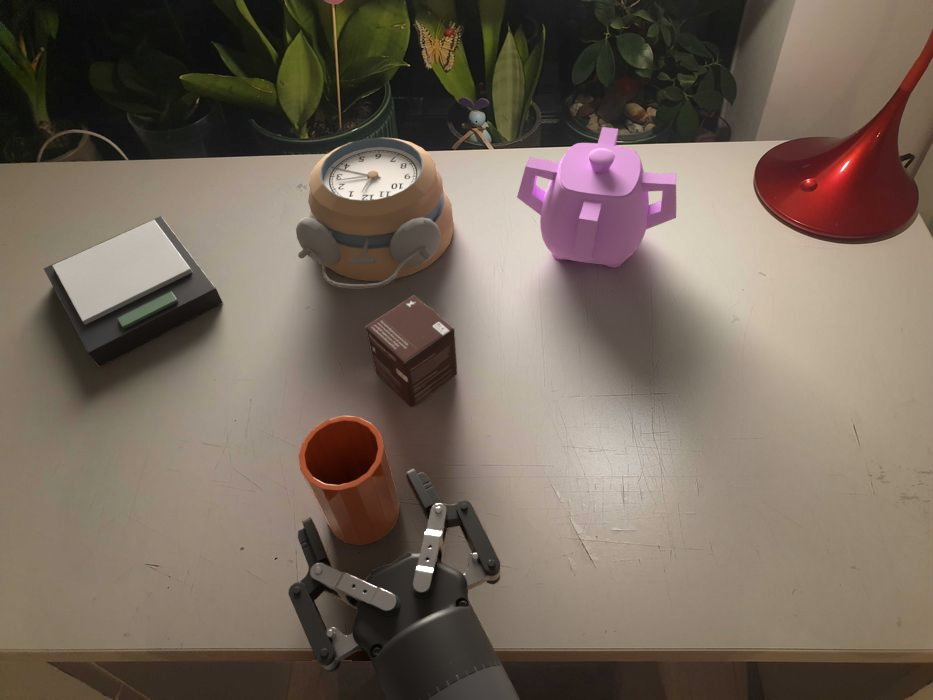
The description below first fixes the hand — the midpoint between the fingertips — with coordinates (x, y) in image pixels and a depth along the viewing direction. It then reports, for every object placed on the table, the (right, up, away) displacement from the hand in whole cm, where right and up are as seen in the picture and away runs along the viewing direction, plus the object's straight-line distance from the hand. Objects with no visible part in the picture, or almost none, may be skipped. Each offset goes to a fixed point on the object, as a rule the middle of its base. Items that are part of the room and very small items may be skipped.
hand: (360, 498), depth 51 cm
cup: (-1, -2, +6) cm, 6 cm away
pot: (+23, +24, +26) cm, 42 cm away
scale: (-29, +18, +24) cm, 42 cm away
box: (+3, +9, +15) cm, 18 cm away
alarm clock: (-2, +23, +27) cm, 36 cm away
